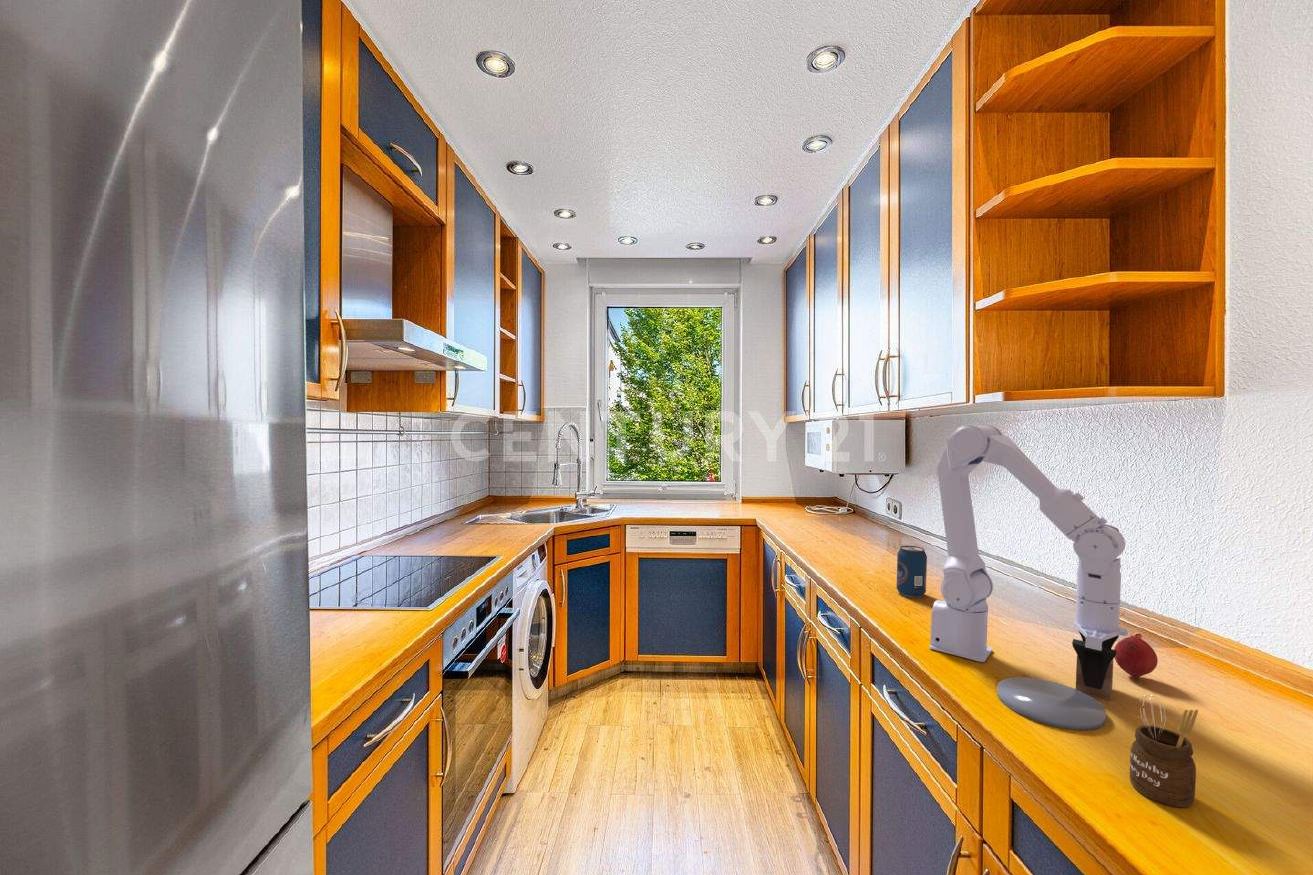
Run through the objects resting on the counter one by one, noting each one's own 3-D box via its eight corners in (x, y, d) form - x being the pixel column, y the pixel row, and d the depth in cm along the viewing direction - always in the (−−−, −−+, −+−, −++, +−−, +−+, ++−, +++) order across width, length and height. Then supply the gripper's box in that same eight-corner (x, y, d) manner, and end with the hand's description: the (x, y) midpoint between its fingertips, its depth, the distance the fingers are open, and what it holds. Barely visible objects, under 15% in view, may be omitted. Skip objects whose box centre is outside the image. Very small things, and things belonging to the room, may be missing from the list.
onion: (1139, 686, 95) (1142, 640, 95) (1104, 671, 101) (1106, 628, 100) (1164, 682, 97) (1166, 637, 96) (1128, 668, 102) (1130, 625, 102)
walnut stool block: (1075, 691, 93) (1076, 656, 93) (1077, 681, 97) (1079, 647, 97) (1110, 700, 90) (1112, 664, 90) (1112, 690, 94) (1113, 655, 94)
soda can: (891, 589, 147) (892, 544, 147) (916, 589, 148) (918, 544, 147) (904, 598, 140) (906, 551, 140) (931, 598, 141) (932, 551, 140)
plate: (989, 706, 88) (989, 699, 88) (1006, 676, 98) (1006, 669, 98) (1103, 741, 79) (1103, 733, 79) (1108, 703, 89) (1108, 696, 89)
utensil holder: (1161, 776, 71) (1165, 683, 71) (1211, 811, 65) (1216, 709, 64) (1116, 776, 71) (1120, 684, 71) (1162, 811, 65) (1167, 710, 64)
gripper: (1128, 615, 85) (1124, 703, 85) (1130, 593, 96) (1127, 671, 96) (1070, 604, 89) (1067, 688, 90) (1078, 585, 100) (1075, 659, 101)
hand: (1094, 678), depth 93 cm, fingers open, 7 cm apart
